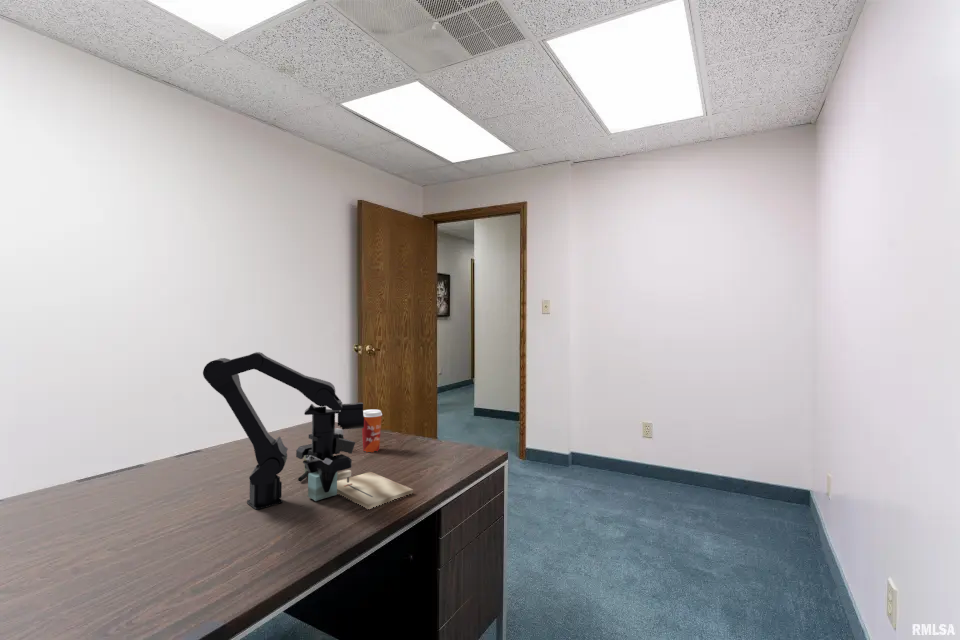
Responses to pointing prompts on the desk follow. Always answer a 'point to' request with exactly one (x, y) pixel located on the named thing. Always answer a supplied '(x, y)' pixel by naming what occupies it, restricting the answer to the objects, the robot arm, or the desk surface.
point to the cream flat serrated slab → (371, 489)
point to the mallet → (317, 489)
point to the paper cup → (371, 430)
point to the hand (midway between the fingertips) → (322, 489)
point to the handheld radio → (305, 472)
